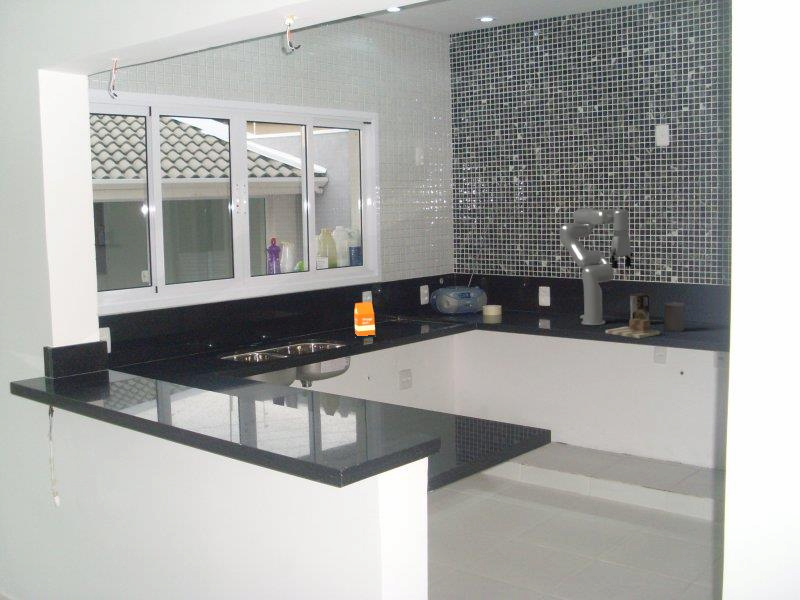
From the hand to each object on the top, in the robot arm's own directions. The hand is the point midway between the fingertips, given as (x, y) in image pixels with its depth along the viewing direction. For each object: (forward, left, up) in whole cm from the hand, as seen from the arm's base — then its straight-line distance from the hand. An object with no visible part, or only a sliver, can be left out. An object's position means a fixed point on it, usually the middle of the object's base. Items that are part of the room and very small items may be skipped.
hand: (621, 267), depth 446 cm
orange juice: (-75, -110, -32) cm, 137 cm away
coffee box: (-4, +18, -32) cm, 37 cm away
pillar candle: (+21, +15, -32) cm, 42 cm away
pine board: (+12, -6, -32) cm, 35 cm away
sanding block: (+17, -6, -31) cm, 36 cm away
